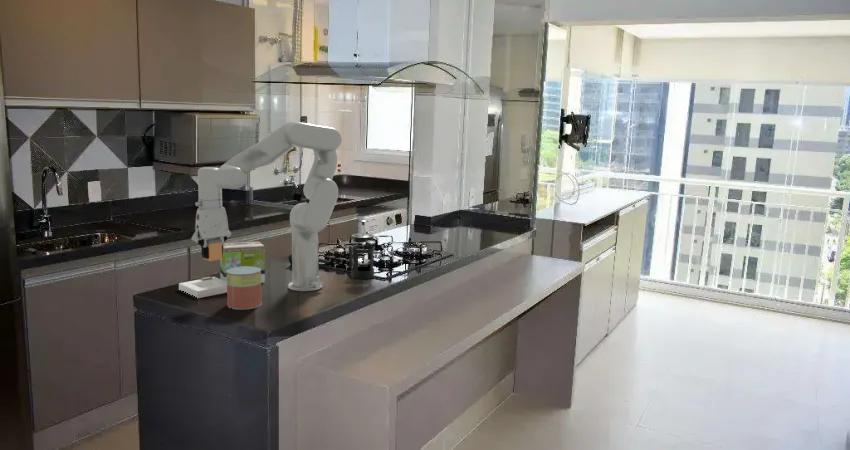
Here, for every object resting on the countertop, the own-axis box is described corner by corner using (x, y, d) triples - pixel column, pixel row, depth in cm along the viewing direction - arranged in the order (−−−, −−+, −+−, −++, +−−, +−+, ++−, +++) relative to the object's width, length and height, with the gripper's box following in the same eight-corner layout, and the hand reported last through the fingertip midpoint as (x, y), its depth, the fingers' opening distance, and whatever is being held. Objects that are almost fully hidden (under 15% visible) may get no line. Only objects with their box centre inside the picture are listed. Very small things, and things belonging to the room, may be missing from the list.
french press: (380, 276, 260) (381, 220, 256) (366, 281, 252) (366, 223, 248) (357, 272, 266) (357, 216, 262) (342, 276, 258) (342, 219, 254)
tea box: (225, 287, 240) (224, 248, 237) (220, 280, 248) (219, 242, 246) (265, 283, 246) (265, 245, 244) (259, 276, 255) (258, 240, 253)
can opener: (285, 267, 271) (285, 254, 270) (292, 264, 278) (292, 251, 277) (325, 271, 267) (325, 257, 266) (331, 267, 274) (331, 254, 273)
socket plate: (234, 290, 235) (233, 282, 234) (197, 298, 225) (197, 289, 224) (214, 283, 244) (214, 275, 244) (179, 289, 234) (178, 281, 234)
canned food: (263, 299, 225) (263, 266, 223) (259, 309, 214) (258, 274, 212) (230, 299, 224) (229, 266, 222) (224, 309, 213) (223, 274, 211)
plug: (222, 259, 222) (222, 239, 220) (210, 261, 218) (209, 241, 217) (215, 256, 225) (214, 237, 223) (202, 259, 221) (201, 238, 220)
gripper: (192, 207, 209) (195, 262, 213) (238, 203, 222) (240, 255, 225) (181, 205, 214) (183, 259, 218) (227, 200, 227) (228, 251, 230)
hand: (212, 256), depth 221 cm, fingers closed on plug, 4 cm apart
